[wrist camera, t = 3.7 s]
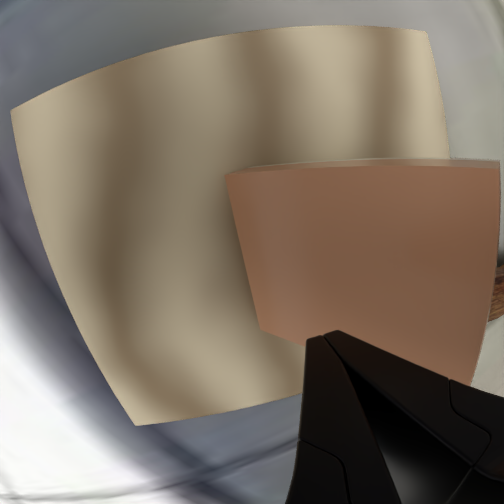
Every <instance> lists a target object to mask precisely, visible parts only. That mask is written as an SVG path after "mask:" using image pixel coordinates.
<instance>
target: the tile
mask: <svg viewBox="0 0 504 504" xmlns="http://www.w3.org/2000/svg"><path fill="white" fill-rule="evenodd" d="M224 176H225V181H226V185H227V189H228V194H229V198H230V202H231V207H232V211H233V215H234V220H235V224H236V228H237V233H238V237H239V241H240V246H241V250H242V254H243V258H244V263H245V267H246V271H247V276H248V280H249V284H250V288H251V293H252V297H253V301H254V305H255V309H256V314H257V318H258V322H259V326H260V330H262V331H265V332H268V333H270V334H273V335H275V336H278V337H281V338H283V339H286V340H288V341H291V342H294V343H297V344H299V345H302V346H306V340H307V339H308V338H311V337H315V336H318V335H322V336H323V335H324V334H325V333H328V332H331V331H334V330H341V331H343V332H345V333H347V334H349V335H352V336H354V337H356V338H358V339H360V340H363V341H365V342H367V343H369V344H372V345H374V346H376V347H378V348H381V349H383V350H385V351H387V352H390V353H392V354H394V355H396V356H399V357H401V358H403V359H406V360H408V361H410V362H413V363H415V364H417V365H420V366H422V367H424V368H427V369H429V370H431V371H434V372H436V373H438V374H441V375H443V376H445V377H448V379H449V380H450V379H453V380H455V381H458V382H460V383H463V384H465V385H468V386H470V385H471V382H472V379H473V376H474V373H475V370H476V367H477V364H478V360H479V356H480V352H481V349H482V345H483V341H484V336H485V332H486V327H487V323H488V318H489V313H490V308H491V302H492V296H493V290H494V283H495V276H496V268H497V259H498V248H499V235H500V215H501V175H500V160H489V159H468V158H365V159H342V160H324V161H309V162H296V163H284V164H273V165H263V166H253V167H249V168H246V169H242V170H239V171H236V172H232V173H229V174H226V175H224Z"/></svg>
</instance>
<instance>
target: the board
mask: <svg viewBox="0 0 504 504" xmlns="http://www.w3.org/2000/svg"><path fill="white" fill-rule="evenodd" d="M11 118H12V124H13V130H14V136H15V142H16V147H17V152H18V157H19V161H20V166H21V170H22V174H23V178H24V182H25V186H26V190H27V194H28V197H29V201H30V204H31V208H32V211H33V215H34V218H35V221H36V224H37V227H38V230H39V233H40V236H41V239H42V242H43V245H44V248H45V251H46V253H47V256H48V259H49V262H50V264H51V267H52V269H53V272H54V274H55V277H56V279H57V282H58V284H59V287H60V289H61V291H62V294H63V296H64V298H65V300H66V303H67V305H68V307H69V309H70V312H71V314H72V316H73V318H74V320H75V322H76V324H77V326H78V328H79V330H80V332H81V334H82V336H83V338H84V340H85V342H86V344H87V346H88V348H89V350H90V352H91V354H92V355H93V357H94V359H95V361H96V363H97V365H98V366H99V368H100V370H101V372H102V373H103V375H104V377H105V379H106V380H107V382H108V384H109V385H110V387H111V389H112V390H113V392H114V393H115V395H116V397H117V398H118V400H119V401H120V403H121V405H122V406H123V408H124V409H125V411H126V412H127V414H128V415H129V417H130V418H131V420H132V421H133V423H134V424H135V426H138V425H147V424H156V423H163V422H171V421H178V420H184V419H190V418H196V417H202V416H208V415H213V414H218V413H223V412H228V411H233V410H238V409H242V408H247V407H251V406H255V405H259V404H263V403H267V402H271V401H275V400H279V399H283V398H287V397H290V396H294V395H297V394H301V393H302V389H303V376H304V362H305V346H302V345H299V344H297V343H294V342H291V341H288V340H286V339H283V338H281V337H278V336H275V335H273V334H270V333H268V332H265V331H262V330H260V326H259V322H258V318H257V314H256V309H255V305H254V301H253V297H252V293H251V288H250V284H249V280H248V276H247V271H246V267H245V263H244V258H243V254H242V250H241V246H240V241H239V237H238V233H237V228H236V224H235V220H234V215H233V211H232V207H231V202H230V198H229V194H228V189H227V185H226V181H225V176H224V175H226V174H229V173H232V172H236V171H239V170H242V169H246V168H249V167H253V166H263V165H273V164H284V163H296V162H309V161H324V160H342V159H365V158H450V154H449V144H448V136H447V128H446V121H445V114H444V108H443V102H442V96H441V91H440V86H439V81H438V76H437V71H436V67H435V63H434V59H433V55H432V51H431V47H430V43H429V39H428V36H427V32H426V31H418V30H410V29H401V28H390V27H376V26H349V25H327V26H300V27H286V28H274V29H265V30H256V31H248V32H241V33H235V34H228V35H222V36H217V37H211V38H206V39H201V40H197V41H192V42H188V43H183V44H179V45H175V46H171V47H167V48H163V49H160V50H156V51H152V52H149V53H146V54H142V55H139V56H136V57H133V58H129V59H126V60H123V61H120V62H117V63H115V64H112V65H109V66H106V67H103V68H101V69H98V70H95V71H93V72H90V73H88V74H85V75H83V76H80V77H78V78H76V79H73V80H71V81H69V82H66V83H64V84H62V85H60V86H58V87H55V88H53V89H51V90H49V91H47V92H45V93H43V94H41V95H39V96H37V97H35V98H33V99H31V100H29V101H27V102H25V103H23V104H21V105H20V106H18V107H16V108H14V109H12V110H11Z"/></svg>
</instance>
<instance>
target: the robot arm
mask: <svg viewBox="0 0 504 504" xmlns="http://www.w3.org/2000/svg"><path fill="white" fill-rule="evenodd" d="M285 504H504V397H501V396H497V395H494V394H491V393H487V392H484V391H481V390H479V389H476V388H473V387H470V386H468V385H465V384H463V383H460V382H458V381H455V380H453V379H450V380H449V379H448V377H445V376H443V375H441V374H438V373H436V372H434V371H431V370H429V369H427V368H424V367H422V366H420V365H417V364H415V363H413V362H410V361H408V360H406V359H403V358H401V357H399V356H396V355H394V354H392V353H390V352H387V351H385V350H383V349H381V348H378V347H376V346H374V345H372V344H369V343H367V342H365V341H363V340H360V339H358V338H356V337H354V336H352V335H349V334H347V333H345V332H343V331H341V330H334V331H331V332H328V333H325V334H324V335H323V336H322V335H318V336H315V337H311V338H308V339H307V340H306V346H305V362H304V376H303V389H302V402H301V413H300V424H299V434H298V442H297V451H296V459H295V465H294V471H293V477H292V480H291V484H290V488H289V492H288V495H287V499H286V502H285Z"/></svg>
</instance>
